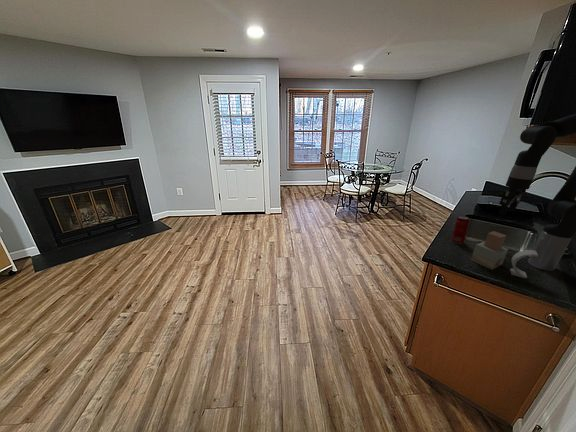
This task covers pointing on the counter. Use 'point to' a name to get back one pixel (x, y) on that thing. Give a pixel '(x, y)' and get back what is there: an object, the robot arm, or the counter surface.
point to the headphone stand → (518, 256)
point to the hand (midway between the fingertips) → (506, 212)
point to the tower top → (490, 252)
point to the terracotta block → (494, 240)
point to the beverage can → (460, 229)
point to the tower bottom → (486, 261)
